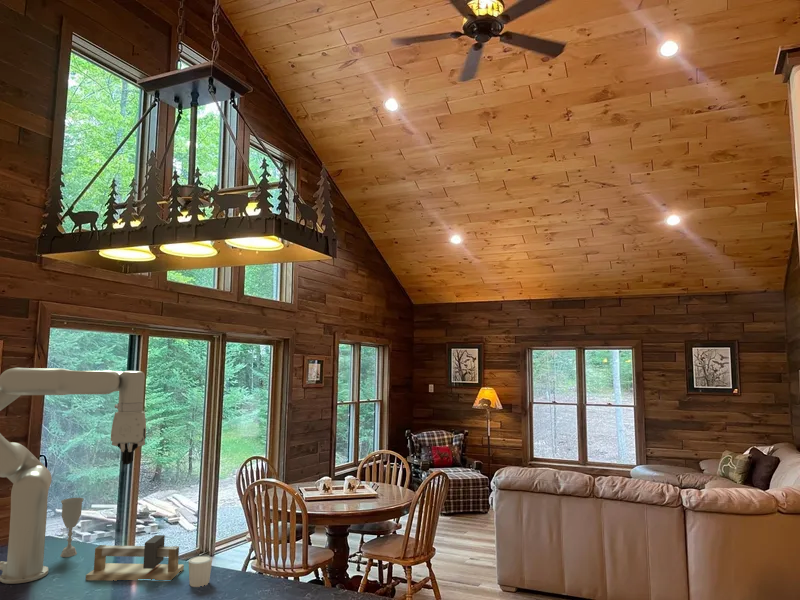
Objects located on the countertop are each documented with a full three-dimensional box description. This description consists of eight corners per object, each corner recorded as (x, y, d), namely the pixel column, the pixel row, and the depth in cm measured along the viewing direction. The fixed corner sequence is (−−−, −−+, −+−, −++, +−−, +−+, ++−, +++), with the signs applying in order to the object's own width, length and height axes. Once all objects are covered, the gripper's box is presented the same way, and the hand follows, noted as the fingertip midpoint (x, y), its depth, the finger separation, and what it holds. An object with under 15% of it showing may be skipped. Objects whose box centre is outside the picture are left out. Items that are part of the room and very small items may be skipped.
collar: (143, 568, 175) (144, 542, 176) (154, 559, 183) (155, 535, 183) (153, 568, 175) (154, 542, 176) (163, 559, 183) (164, 535, 183)
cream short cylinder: (203, 588, 168) (204, 564, 169) (182, 586, 170) (183, 562, 170) (215, 580, 175) (216, 556, 176) (195, 578, 176) (196, 554, 177)
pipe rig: (85, 580, 174) (87, 551, 174) (102, 568, 184) (104, 540, 184) (170, 581, 173) (172, 552, 174) (183, 569, 183) (184, 542, 184)
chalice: (63, 551, 199) (67, 497, 201) (83, 550, 200) (87, 497, 201) (52, 558, 192) (56, 503, 193) (74, 557, 192) (78, 502, 194)
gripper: (102, 408, 189) (99, 465, 187) (147, 409, 189) (144, 466, 187) (114, 406, 196) (110, 461, 195) (157, 407, 196) (154, 462, 194)
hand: (127, 463), depth 191 cm, fingers closed
